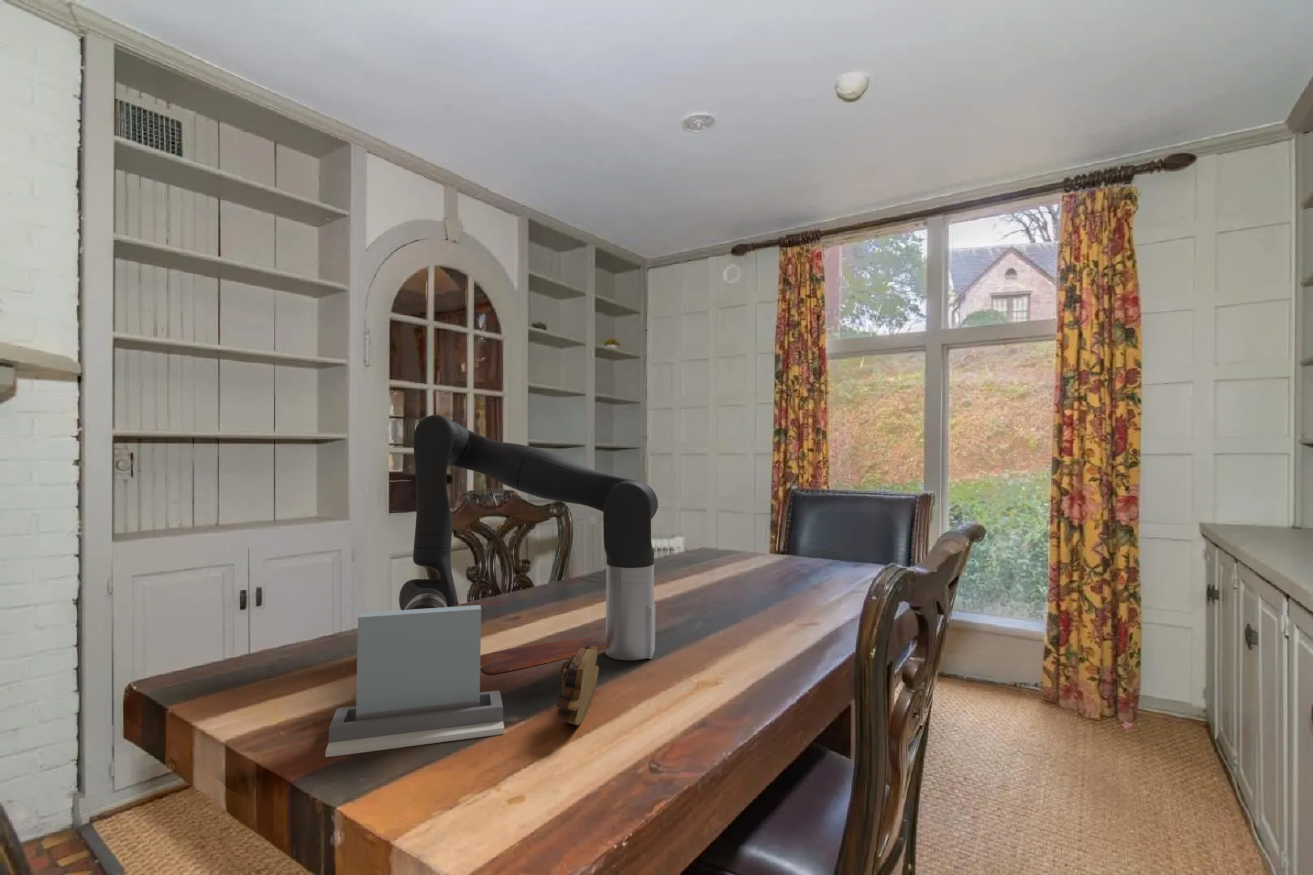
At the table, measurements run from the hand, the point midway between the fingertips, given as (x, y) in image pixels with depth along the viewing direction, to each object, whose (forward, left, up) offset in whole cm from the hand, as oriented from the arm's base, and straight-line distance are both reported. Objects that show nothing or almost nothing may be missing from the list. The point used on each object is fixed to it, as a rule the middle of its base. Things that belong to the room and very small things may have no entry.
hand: (421, 651), depth 90 cm
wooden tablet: (-9, -31, -11) cm, 34 cm away
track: (-1, +2, -10) cm, 10 cm away
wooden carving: (-22, -4, -10) cm, 25 cm away
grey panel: (0, 0, -8) cm, 8 cm away
